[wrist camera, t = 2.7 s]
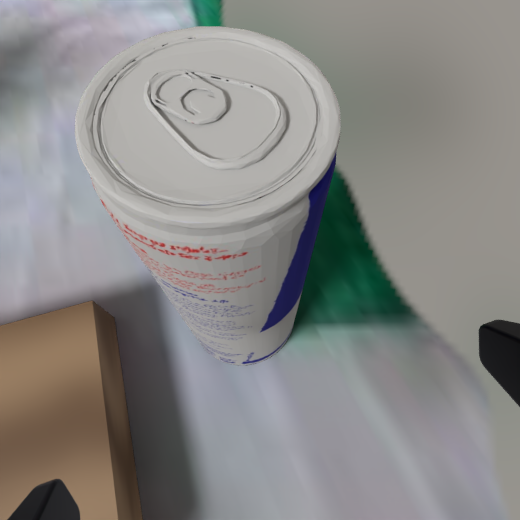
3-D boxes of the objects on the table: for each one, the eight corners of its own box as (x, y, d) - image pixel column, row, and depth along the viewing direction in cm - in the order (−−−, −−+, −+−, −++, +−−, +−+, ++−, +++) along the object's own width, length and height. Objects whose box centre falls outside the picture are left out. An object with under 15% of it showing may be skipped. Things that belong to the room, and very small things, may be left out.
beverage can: (296, 365, 20) (365, 221, 6) (191, 368, 20) (37, 229, 6) (291, 268, 22) (332, 13, 9) (196, 271, 22) (91, 19, 9)
